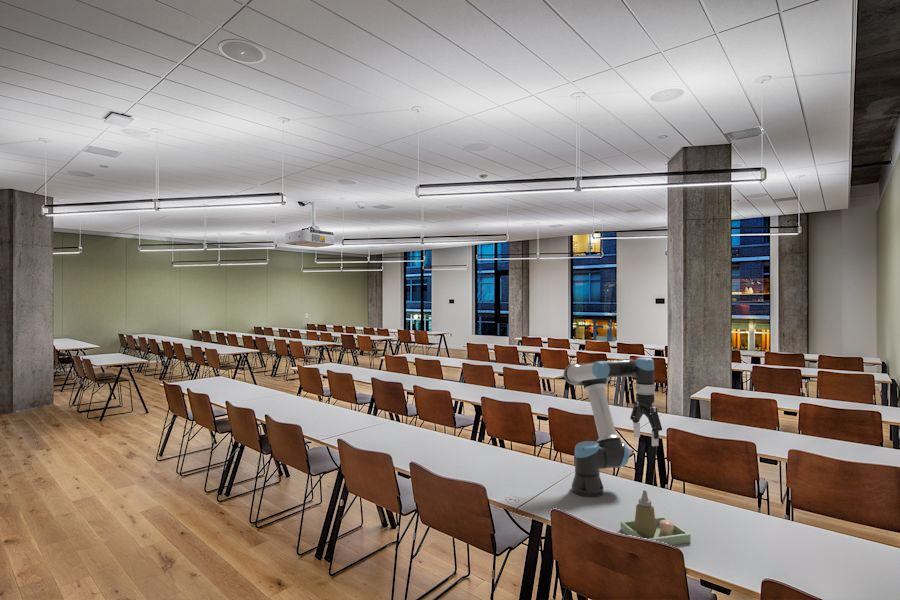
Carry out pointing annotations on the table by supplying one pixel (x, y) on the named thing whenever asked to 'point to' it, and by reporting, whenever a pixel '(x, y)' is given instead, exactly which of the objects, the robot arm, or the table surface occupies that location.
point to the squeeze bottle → (645, 517)
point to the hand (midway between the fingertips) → (645, 441)
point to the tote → (677, 538)
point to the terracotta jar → (666, 528)
